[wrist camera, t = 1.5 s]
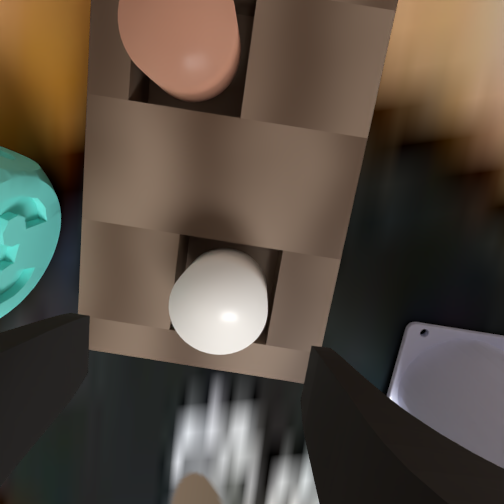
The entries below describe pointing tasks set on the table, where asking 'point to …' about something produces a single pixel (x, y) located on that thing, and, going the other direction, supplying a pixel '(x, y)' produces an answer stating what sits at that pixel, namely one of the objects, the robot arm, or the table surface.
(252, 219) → the button panel
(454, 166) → the table surface
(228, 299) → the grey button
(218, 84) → the terracotta button
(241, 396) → the table surface
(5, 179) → the decorative dice
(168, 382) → the table surface
